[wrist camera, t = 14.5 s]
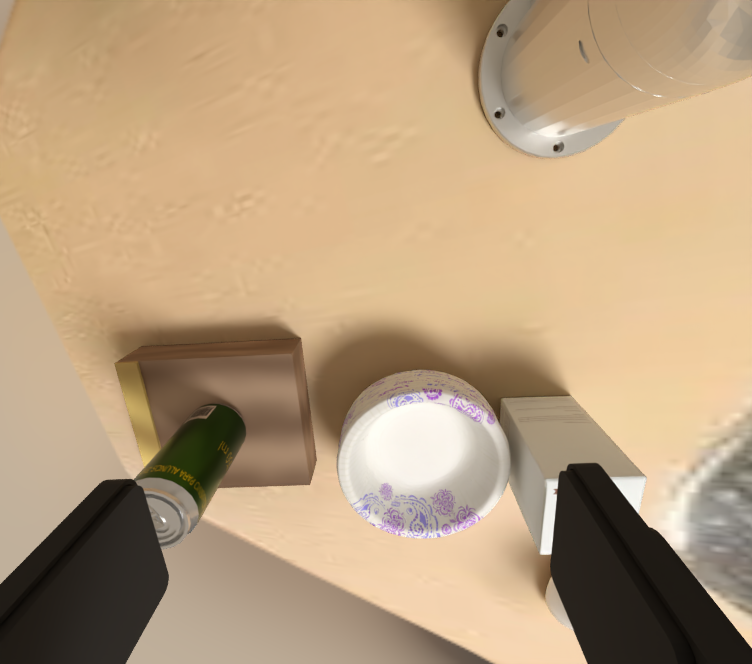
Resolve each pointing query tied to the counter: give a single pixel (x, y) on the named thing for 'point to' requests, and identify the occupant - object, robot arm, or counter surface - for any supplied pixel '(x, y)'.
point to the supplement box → (557, 457)
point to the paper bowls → (422, 455)
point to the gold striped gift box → (232, 387)
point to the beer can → (191, 470)
